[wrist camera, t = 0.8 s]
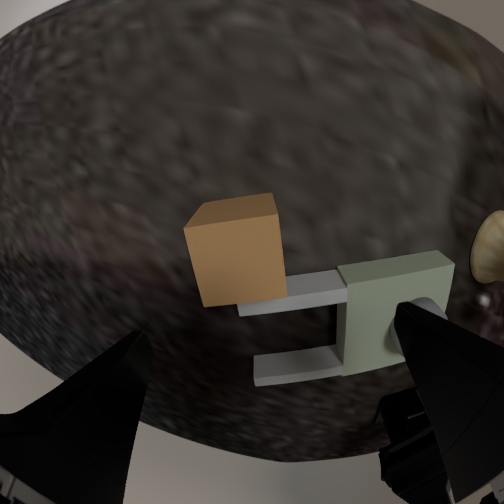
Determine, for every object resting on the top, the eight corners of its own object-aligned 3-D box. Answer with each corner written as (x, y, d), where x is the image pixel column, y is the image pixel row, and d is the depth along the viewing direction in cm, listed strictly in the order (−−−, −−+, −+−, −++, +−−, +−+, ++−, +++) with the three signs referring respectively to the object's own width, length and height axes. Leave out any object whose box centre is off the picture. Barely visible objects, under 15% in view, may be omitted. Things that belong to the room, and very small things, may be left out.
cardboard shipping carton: (280, 256, 22) (287, 297, 16) (216, 264, 22) (203, 307, 16) (271, 192, 20) (277, 214, 14) (203, 202, 20) (183, 228, 14)
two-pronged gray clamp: (437, 249, 21) (468, 274, 16) (421, 334, 25) (441, 365, 20) (238, 279, 22) (233, 315, 18) (256, 365, 26) (255, 404, 21)
